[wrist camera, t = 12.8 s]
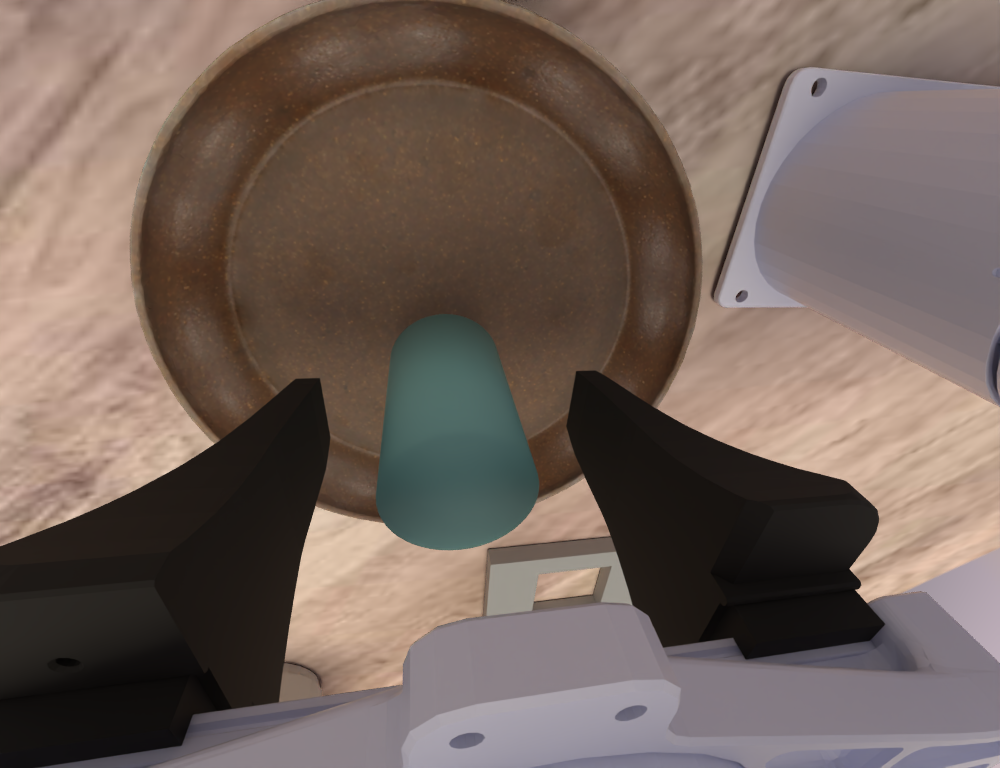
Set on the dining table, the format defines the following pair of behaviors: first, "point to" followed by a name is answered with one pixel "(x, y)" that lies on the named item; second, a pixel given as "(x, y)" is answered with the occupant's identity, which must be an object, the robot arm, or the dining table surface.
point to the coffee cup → (298, 683)
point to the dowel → (452, 440)
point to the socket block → (521, 565)
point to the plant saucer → (411, 222)
